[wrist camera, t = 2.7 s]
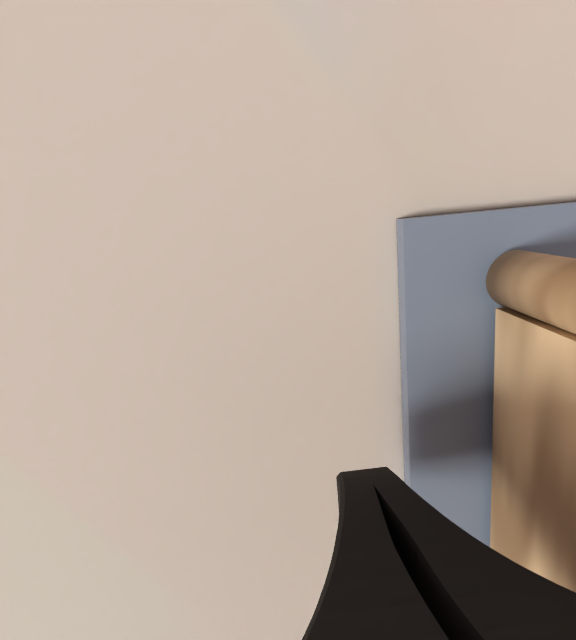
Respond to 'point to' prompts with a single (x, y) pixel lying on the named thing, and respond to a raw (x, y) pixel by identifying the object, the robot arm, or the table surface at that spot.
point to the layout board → (459, 346)
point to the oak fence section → (535, 413)
